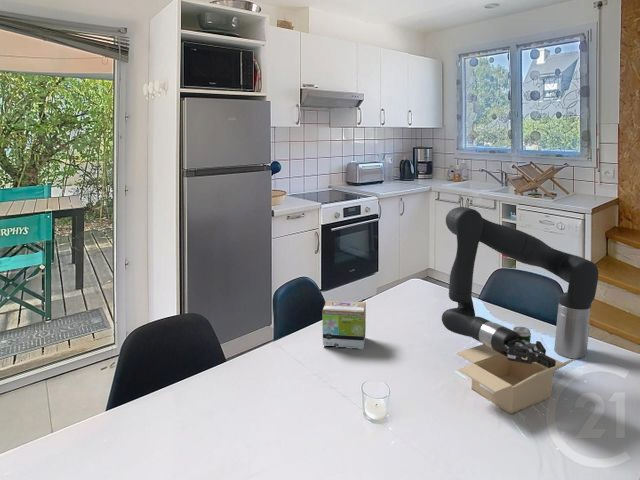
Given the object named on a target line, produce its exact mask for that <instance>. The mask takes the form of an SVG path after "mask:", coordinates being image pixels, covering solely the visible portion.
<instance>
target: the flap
mask: <svg viewBox="0 0 640 480" xmlns="http://www.w3.org/2000/svg"><path fill="white" fill-rule="evenodd" d="M575 360H576V358H571V359H569V360H567V361H564V362H562V364H559V365H556V366H554V367H551V368H549V369H546V370H543V371H541V372H538V373H536V374H534V375H532V376H530V377H528V378H527V379H525V380H523V381H521V382H519V383H518V384H516V385H515V387H516V386H518V385H521V384H523V383H526V382H528V381H531V380H533V379H536V378H539V377H541V376H544V375H546V374H549V373H551V372H553V373H554V372H555V371H558V370H559V369H561V368H563V367H565V365H570V363H572V362H574V361H575Z"/></svg>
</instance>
